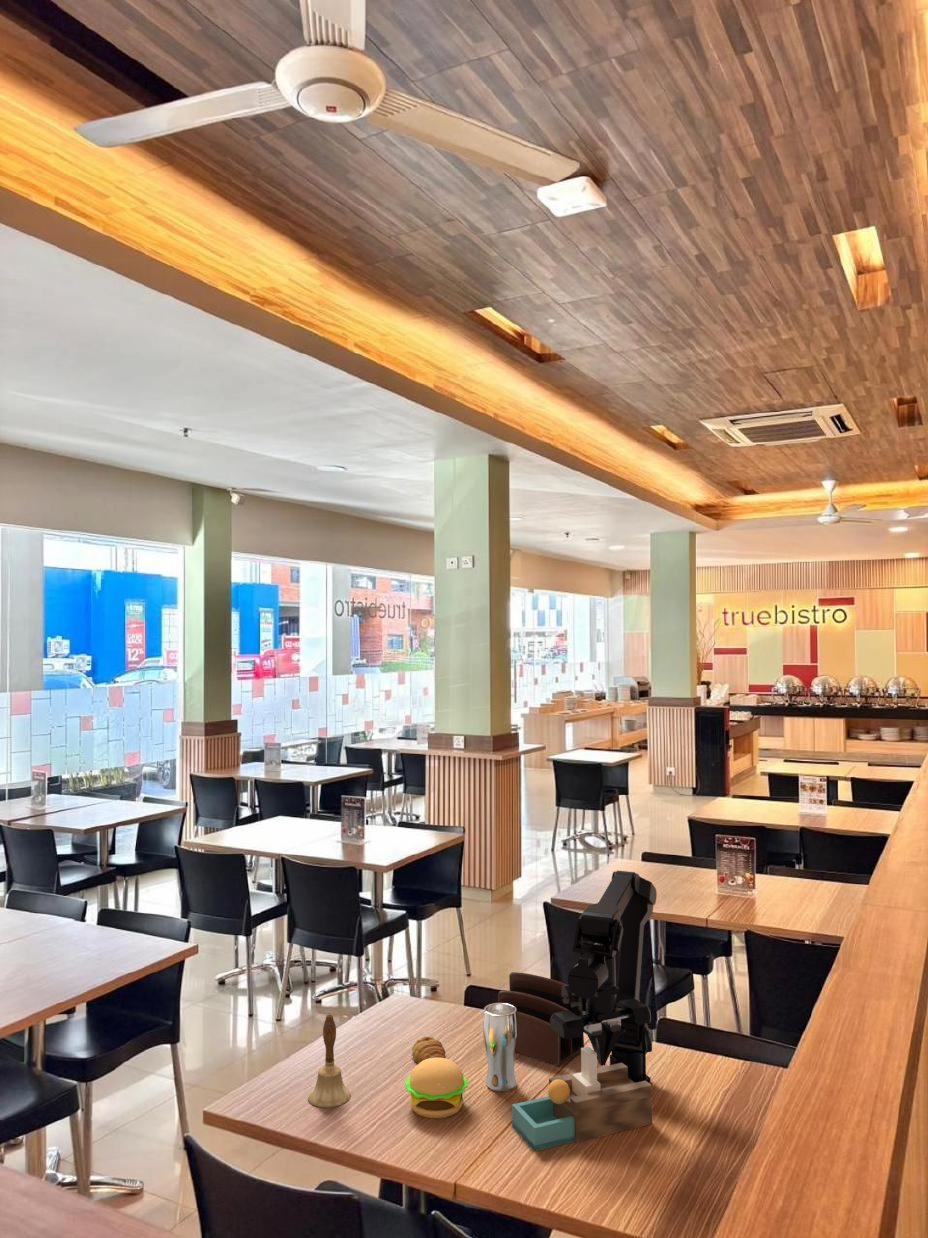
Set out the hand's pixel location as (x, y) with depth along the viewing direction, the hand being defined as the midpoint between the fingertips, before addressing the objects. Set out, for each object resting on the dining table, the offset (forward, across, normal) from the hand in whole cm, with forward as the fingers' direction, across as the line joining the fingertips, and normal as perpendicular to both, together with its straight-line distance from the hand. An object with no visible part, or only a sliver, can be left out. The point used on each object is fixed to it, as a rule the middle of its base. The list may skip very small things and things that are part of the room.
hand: (601, 1064), depth 169 cm
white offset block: (+5, +3, 0) cm, 6 cm away
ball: (+3, +9, 0) cm, 10 cm away
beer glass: (+10, +11, -20) cm, 25 cm away
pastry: (+10, +20, -37) cm, 43 cm away
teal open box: (+10, +12, 0) cm, 16 cm away
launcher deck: (+10, 0, 0) cm, 10 cm away
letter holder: (+10, -3, -33) cm, 35 cm away
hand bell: (+10, +44, -30) cm, 54 cm away
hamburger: (+10, +26, -17) cm, 33 cm away
